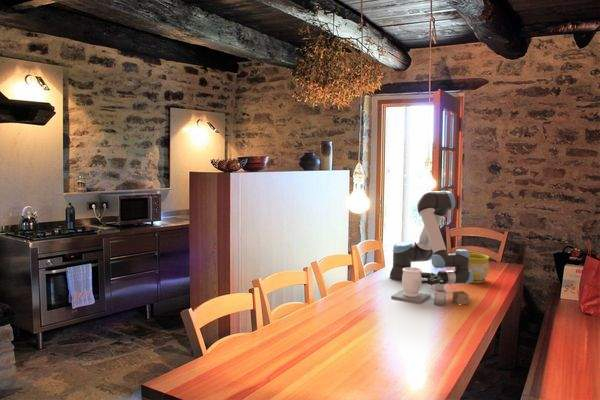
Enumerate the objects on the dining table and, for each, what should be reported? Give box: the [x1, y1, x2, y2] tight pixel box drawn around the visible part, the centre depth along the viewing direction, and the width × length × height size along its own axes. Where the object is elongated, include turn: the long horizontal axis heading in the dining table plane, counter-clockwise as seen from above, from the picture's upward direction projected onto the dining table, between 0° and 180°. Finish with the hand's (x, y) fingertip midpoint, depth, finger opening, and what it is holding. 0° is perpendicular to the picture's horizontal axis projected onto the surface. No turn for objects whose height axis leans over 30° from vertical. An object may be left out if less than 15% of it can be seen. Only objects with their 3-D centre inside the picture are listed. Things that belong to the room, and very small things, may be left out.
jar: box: [401, 266, 423, 297], centre depth 285 cm, size 11×10×15 cm
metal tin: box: [433, 290, 447, 307], centre depth 273 cm, size 6×6×7 cm
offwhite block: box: [429, 283, 445, 292], centre depth 303 cm, size 6×6×6 cm
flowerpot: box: [469, 252, 490, 284], centre depth 324 cm, size 18×18×16 cm
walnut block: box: [452, 290, 470, 306], centre depth 276 cm, size 6×6×6 cm
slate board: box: [390, 289, 432, 305], centre depth 285 cm, size 16×17×2 cm
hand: (410, 278), depth 284 cm, fingers open, 13 cm apart
